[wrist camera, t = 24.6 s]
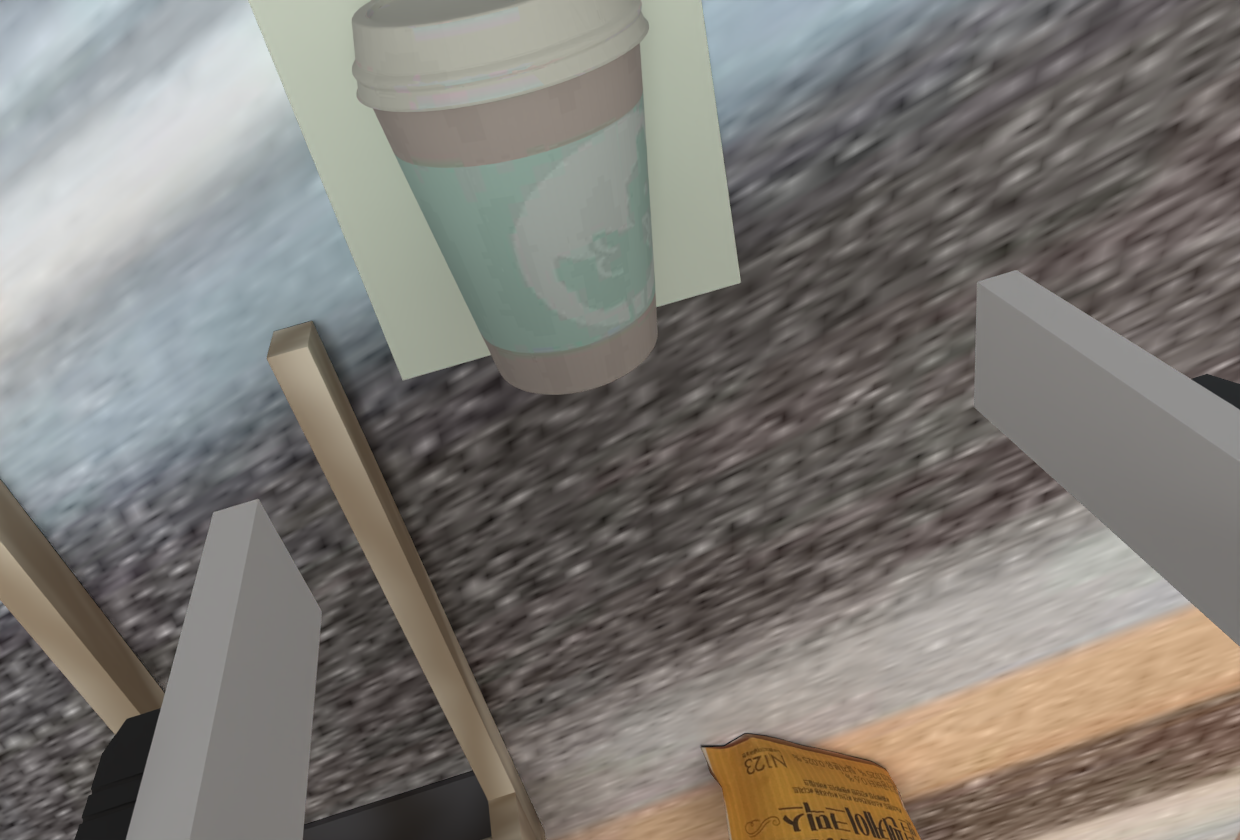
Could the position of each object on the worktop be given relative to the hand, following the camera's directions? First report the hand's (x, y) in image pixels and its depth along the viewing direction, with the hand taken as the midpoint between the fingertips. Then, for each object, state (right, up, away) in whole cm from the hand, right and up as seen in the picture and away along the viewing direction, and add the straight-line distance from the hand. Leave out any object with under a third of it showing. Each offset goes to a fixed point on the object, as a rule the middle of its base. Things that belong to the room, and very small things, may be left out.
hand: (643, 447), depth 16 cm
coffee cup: (-2, +3, +16) cm, 16 cm away
